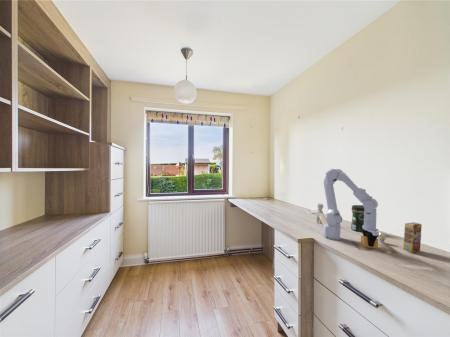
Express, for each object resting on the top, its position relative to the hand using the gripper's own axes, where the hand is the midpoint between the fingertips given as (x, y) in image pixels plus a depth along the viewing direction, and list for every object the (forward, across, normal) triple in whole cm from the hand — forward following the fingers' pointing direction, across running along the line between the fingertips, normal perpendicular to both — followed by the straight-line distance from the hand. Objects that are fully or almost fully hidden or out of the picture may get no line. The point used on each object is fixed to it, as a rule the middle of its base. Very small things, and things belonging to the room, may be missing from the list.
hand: (369, 244), depth 118 cm
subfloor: (+2, 0, -2) cm, 3 cm away
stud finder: (+1, 0, 0) cm, 1 cm away
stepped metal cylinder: (+2, +10, -10) cm, 15 cm away
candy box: (+2, +4, -22) cm, 23 cm away
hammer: (+2, +40, +16) cm, 43 cm away
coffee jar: (+2, +40, -8) cm, 41 cm away
